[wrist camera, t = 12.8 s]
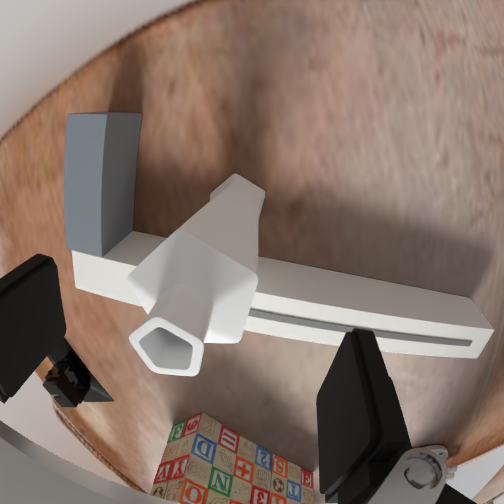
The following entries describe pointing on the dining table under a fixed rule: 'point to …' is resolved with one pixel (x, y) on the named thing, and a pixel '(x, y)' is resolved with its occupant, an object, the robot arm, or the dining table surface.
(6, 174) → the dining table surface
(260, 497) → the stack of blocks
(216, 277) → the white faceted vase
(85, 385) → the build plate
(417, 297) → the guide fence
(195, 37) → the dining table surface
